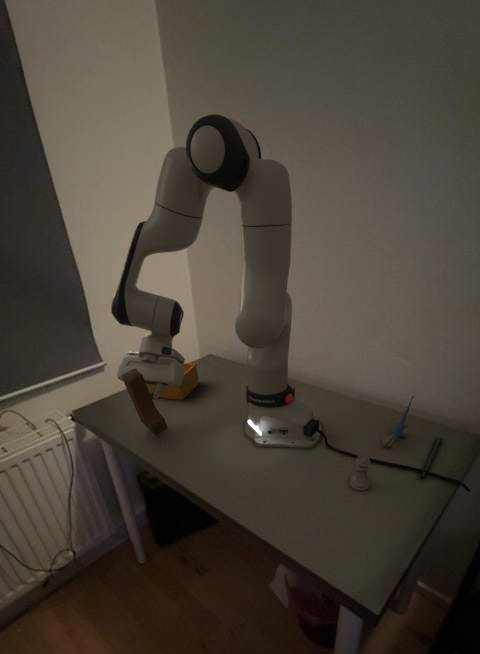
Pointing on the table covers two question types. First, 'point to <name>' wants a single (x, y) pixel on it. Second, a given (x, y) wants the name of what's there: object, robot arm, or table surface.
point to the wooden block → (143, 402)
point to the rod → (430, 458)
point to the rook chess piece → (361, 474)
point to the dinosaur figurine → (397, 429)
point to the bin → (184, 389)
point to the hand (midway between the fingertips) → (144, 398)
